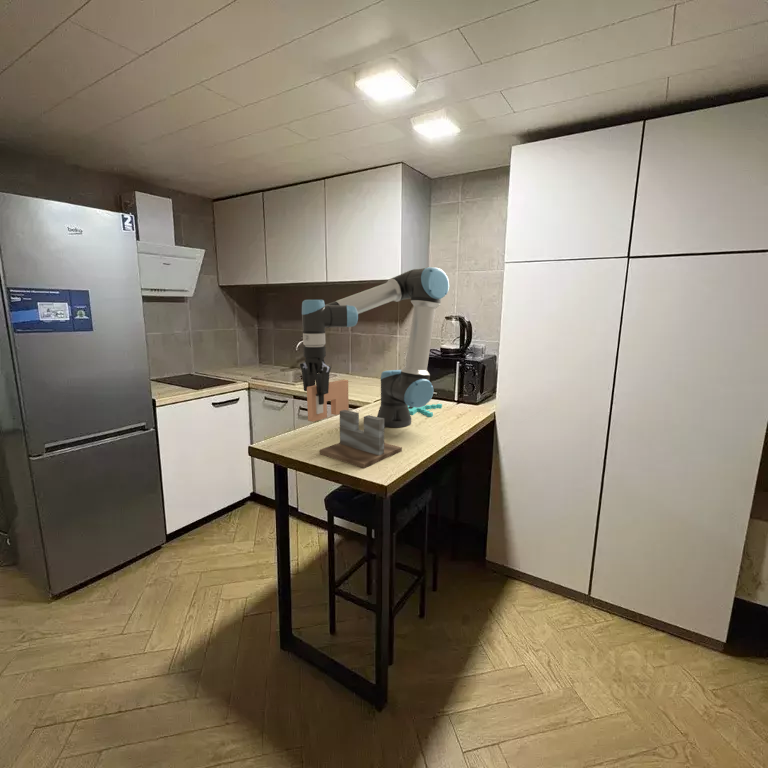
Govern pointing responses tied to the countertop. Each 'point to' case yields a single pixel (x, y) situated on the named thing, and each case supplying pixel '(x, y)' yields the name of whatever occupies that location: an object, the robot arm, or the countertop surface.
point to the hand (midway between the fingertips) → (316, 412)
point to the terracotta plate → (335, 394)
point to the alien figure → (424, 409)
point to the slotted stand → (360, 441)
